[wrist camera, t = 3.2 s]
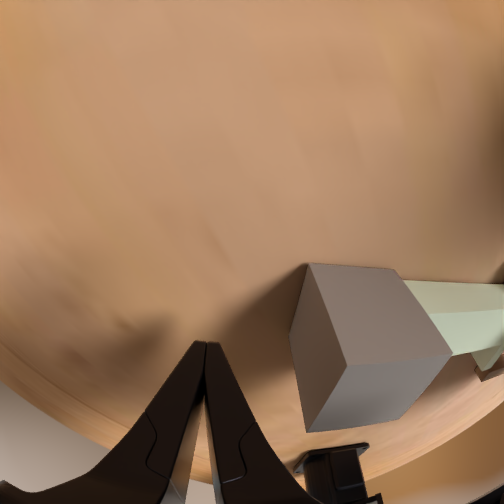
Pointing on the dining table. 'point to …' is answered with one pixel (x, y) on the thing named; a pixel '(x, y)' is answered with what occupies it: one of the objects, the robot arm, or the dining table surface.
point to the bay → (491, 370)
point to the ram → (383, 340)
